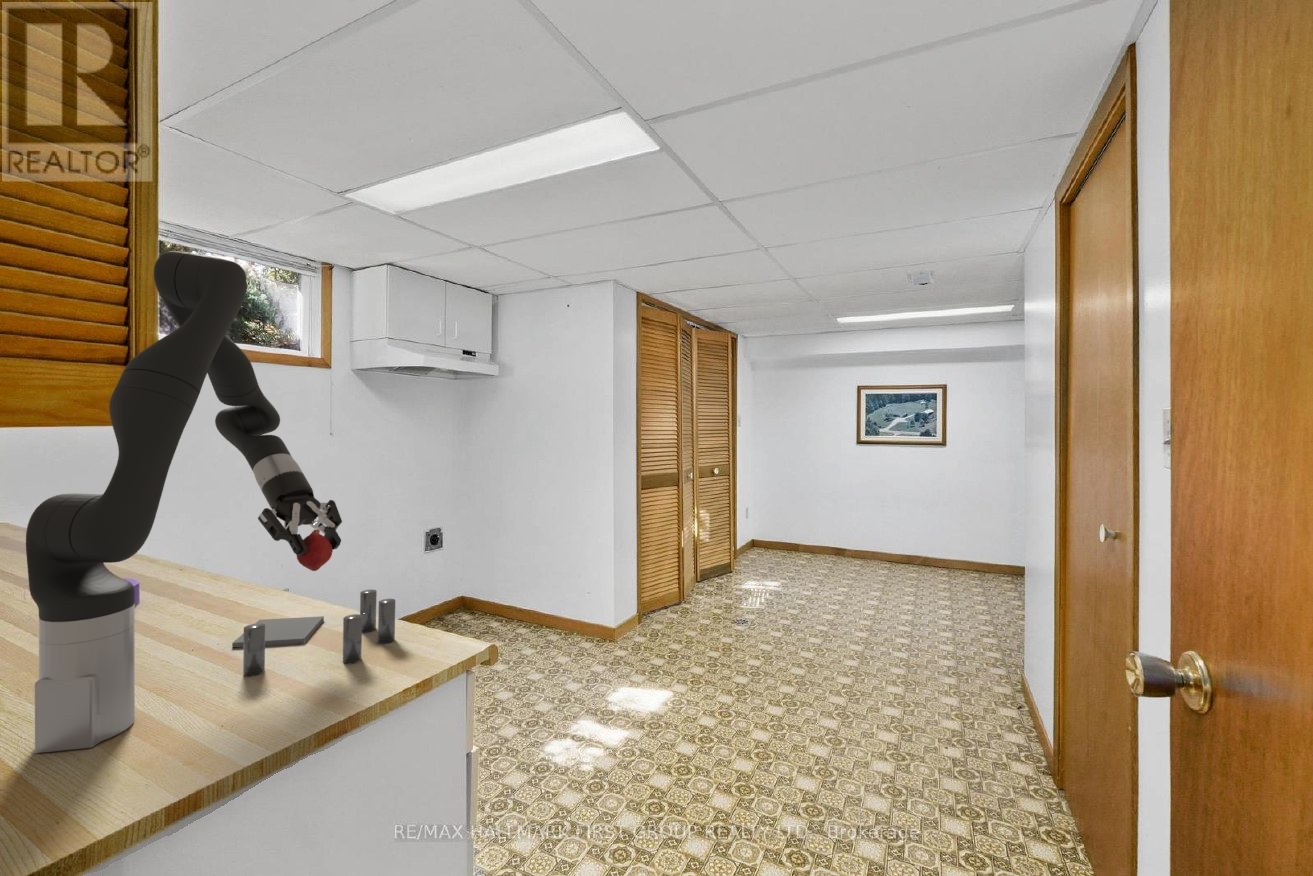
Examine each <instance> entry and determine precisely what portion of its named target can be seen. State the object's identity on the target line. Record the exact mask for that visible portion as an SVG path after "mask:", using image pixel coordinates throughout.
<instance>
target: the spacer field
mask: <svg viewBox="0 0 1313 876" xmlns="http://www.w3.org/2000/svg"><path fill="white" fill-rule="evenodd" d="M359 596H360V597H359V599H360V601H359V614H358V613H354V614H349V615H346V616H344V617H343V619H342V620H343V625H342V627H343V629H342V663H343V664H347V665H348V663H352V664H355V663H354V662H356V661H359V660H360V659H361V660H362V641H363V639H362V638H363V637H362V635H363V633H371V632H374V631H375V630H376V629H377V643H378V644H382V645H383V644H385V645H386V644H390V643H394V642H395V639H396V638H395V635H396V633H395V632H396V599H394V598H383V599H380V600H379V601H378V617H377V596H378V595H377V590H376V589H365V590H362V591H360V593H359ZM363 613H365V614H363ZM377 618H378V619H377ZM377 620H378V622H377ZM377 625H378V627H377ZM243 633H244V647H243V657H242V658H243V663H242V666H243V667H242V669H243V670H242V672H243V673H242V674H244V675H246V676H245V677H253V676H252V675H254V676H258V675H260V674H259V673H261V674H263V673H264V672H265V671H264V670H266V669H265V668H266V646H265V624H263V623H257V624H255V623H252V624H248V625H246V626H244V627H243ZM361 660H360V661H361ZM360 661H359V662H360ZM356 663H357V662H356ZM263 671H264V672H263ZM262 672H263V673H262ZM257 674H258V675H257ZM244 675H243V676H244Z"/></svg>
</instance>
